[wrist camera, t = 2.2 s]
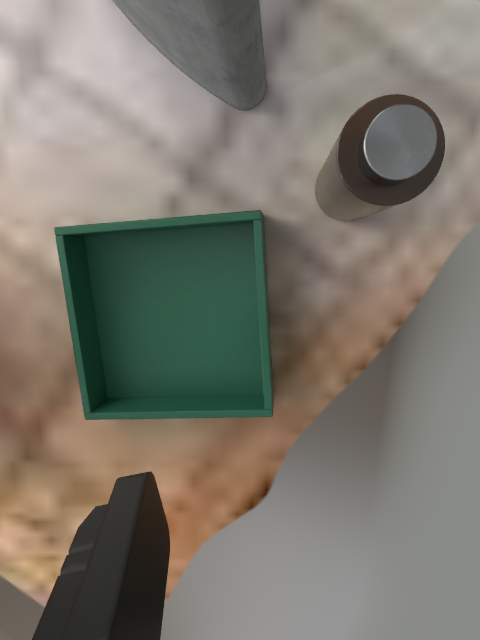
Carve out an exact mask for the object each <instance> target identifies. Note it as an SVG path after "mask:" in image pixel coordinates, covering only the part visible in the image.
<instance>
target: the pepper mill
mask: <svg viewBox="0 0 480 640" xmlns="http://www.w3.org/2000/svg"><path fill="white" fill-rule="evenodd" d="M444 150H445V138H444V132H443V129H442V125H441V123H440V121H439V119H438V117H437V116H436V114H435V113H434V112H433V111H432V109H431V108H430V107H429V106H427V105H426V104H425V103H423V102H422V101H420V100H418V99H416V98H413V97H411V96H406V95H399V94H395V95H386V96H382V97H378V98H376V99H373V100H371V101H369V102H368V103H366V104H364V105H363V106H362V107H360V108H359V109H358V110H357V111H356V112H355V113H354V114H353V115H352V116H351V117H350V119H349V120H348V121H347V123H346V124H345V126H344V128H343V130H342V132H341V133H340V135H339V137H338V139H337V141H336V143H335V145H334V147H333V149H332V150H331V152H330V154H329V156H328V158H327V160H326V162H325V164H324V166H323V167H322V169H321V171H320V173H319V175H318V178H317V181H316V186H315V193H316V199H317V202H318V204H319V206H320V208H321V209H322V210H323V211H324V212H325V214H327V215H328V216H330V217H331V218H333V219H336V220H339V221H353V220H356V219H359V218H362V217H365V216H368V215H371V214H373V213H376V212H379V211H382V210H385V209H388V208H390V207H393V206H396V205H399V204H402V203H404V202H407V201H409V200H411V199H413V198H415V197H416V196H418V195H419V194H420V193H422V192H423V191H424V190H425V189H426V188H427V187H428V186H429V185H430V184H431V182H432V181H433V180H434V178H435V177H436V175H437V173H438V171H439V169H440V167H441V164H442V161H443V157H444Z"/></svg>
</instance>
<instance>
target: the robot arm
mask: <svg viewBox="0 0 480 640" xmlns="http://www.w3.org/2000/svg"><path fill="white" fill-rule="evenodd" d="M169 555H170V537H169V529H168V524H167V520H166V516H165V513H164V509H163V506H162V502H161V498H160V495H159V491H158V488H157V484H156V481H155V477H154V475H153V473H152V472H145V473H140V474H135V475H130V476H125V477H120V478H118V479H117V480H116V483H115V485H114V488H113V491H112V494H111V497H110V500H109V503H108V504H106V505H101V506H96V507H95V508H94V509H93V510H92V512H91V513H90V514H89V515H88V517H87V518H86V519H85V520H84V521H83V523H82V524H81V525H80V526H79V527H78V530H77V532H76V535H75V537H74V539H73V542H72V544H71V547H70V549H69V555H67V556H66V559H65V561H64V563H63V566H62V568H61V575H60V576H58V578H57V580H56V583H55V585H54V588H53V590H52V592H51V595H50V597H49V600H48V602H47V604H46V607H45V609H44V612H43V614H42V617H41V619H40V621H39V624H38V626H37V629H36V631H35V633H34V636H33V638H32V640H160V636H161V627H162V618H163V608H164V600H165V591H166V582H167V573H168V564H169Z"/></svg>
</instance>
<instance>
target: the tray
mask: <svg viewBox="0 0 480 640" xmlns="http://www.w3.org/2000/svg"><path fill="white" fill-rule="evenodd" d="M54 229H55V235H56V242H57V248H58V254H59V261H60V267H61V273H62V279H63V285H64V292H65V298H66V304H67V310H68V317H69V323H70V329H71V335H72V341H73V348H74V354H75V360H76V366H77V373H78V379H79V385H80V391H81V397H82V404H83V410H84V416H85V420H99V419H162V418H225V417H272V416H273V401H274V395H273V377H272V359H271V341H270V323H269V305H268V287H267V269H266V251H265V233H264V215H263V213H262V212H261V210H257V211H245V212H233V213H221V214H209V215H197V216H185V217H173V218H161V219H149V220H137V221H125V222H113V223H101V224H89V225H77V226H65V227H55V228H54Z"/></svg>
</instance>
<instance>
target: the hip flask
mask: <svg viewBox="0 0 480 640" xmlns="http://www.w3.org/2000/svg"><path fill="white" fill-rule="evenodd" d="M113 1H114V2H115V4H116V5H117V6H118V7H119V8H120V10H121V11H122V12H123V13H124V14H125V16H126V17H127V18H128V19H129V20H130V21H131V22H132V24H133V25H134V26H135V27H136V28H137V29H138V30H139V31H140V32H141V33H142V34H143V35H144V36H145V37H146V38H147V39H148V41H150V42H151V43H152V44H153V45H154V46H155V47H156V48H157V49H158V50H159V51H160V52H161V53H162V54H163V55H164V56H165V57H166V58H168V59H169V60H170V61H171V62H172V63H173V64H174V65H175V66H177V67H178V68H179V69H180V70H181V71H182V72H184V73H185V74H186V75H187V76H189V77H190V78H191V79H193V80H194V81H195V82H196V83H198V84H199V85H200V86H202V87H203V88H205V89H206V90H207V91H209V92H210V93H212V94H213V95H215V96H216V97H218V98H219V99H221V100H223V101H224V102H226V103H228V104H229V105H231V106H233V107H234V108H237V109H240V110H248V109H252V108H254V107H255V106H257V105H258V104H259V103H260V102H261V101H262V99H263V97H264V95H265V92H266V84H267V83H266V72H265V61H264V50H263V39H262V28H261V17H260V6H259V0H113Z"/></svg>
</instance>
